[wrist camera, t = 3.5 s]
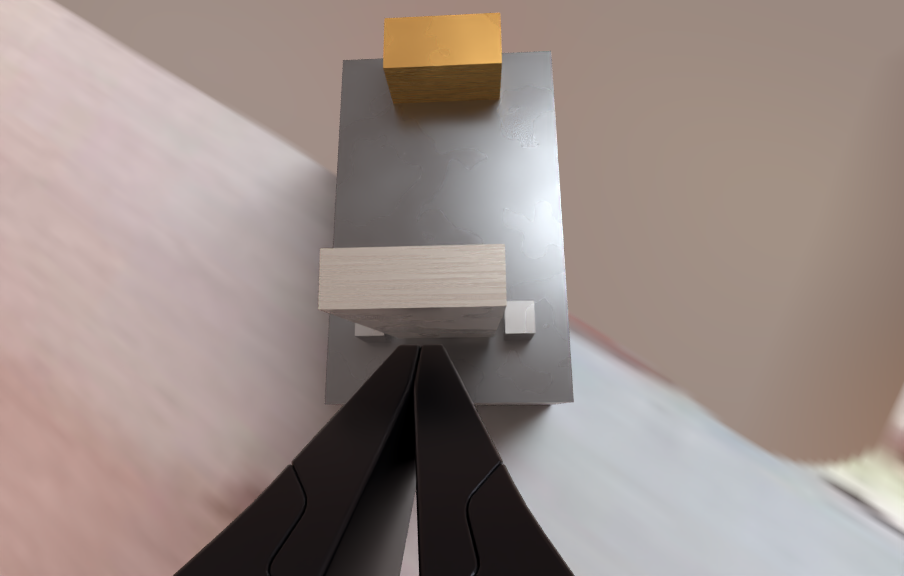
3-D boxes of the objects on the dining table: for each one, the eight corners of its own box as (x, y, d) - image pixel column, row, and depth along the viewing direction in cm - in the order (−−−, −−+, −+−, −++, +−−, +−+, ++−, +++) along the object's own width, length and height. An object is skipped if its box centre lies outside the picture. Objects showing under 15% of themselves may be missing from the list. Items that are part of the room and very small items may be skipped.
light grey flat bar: (492, 307, 16) (492, 338, 16) (400, 308, 17) (401, 339, 16) (504, 244, 8) (506, 305, 8) (319, 248, 8) (317, 309, 8)
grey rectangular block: (552, 404, 21) (586, 400, 14) (360, 406, 21) (303, 402, 14) (536, 124, 24) (559, 9, 17) (370, 130, 24) (327, 20, 17)
